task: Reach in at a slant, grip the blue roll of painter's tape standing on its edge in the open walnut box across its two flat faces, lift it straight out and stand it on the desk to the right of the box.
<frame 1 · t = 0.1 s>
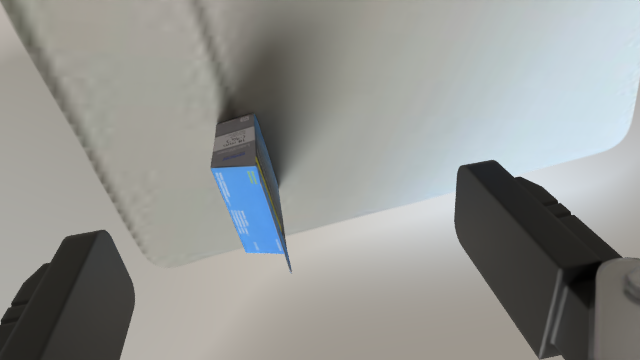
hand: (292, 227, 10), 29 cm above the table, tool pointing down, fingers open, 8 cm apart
blue retail box: (249, 157, 42), on the table
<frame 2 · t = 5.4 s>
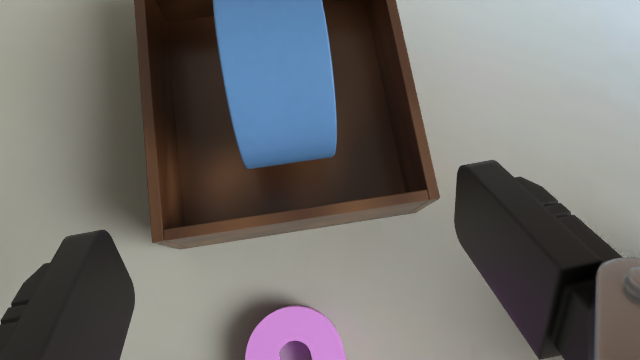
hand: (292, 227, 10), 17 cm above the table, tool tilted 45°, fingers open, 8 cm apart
tape roll: (282, 109, 29), resting on wooden box
wooden box: (282, 111, 29), on the table
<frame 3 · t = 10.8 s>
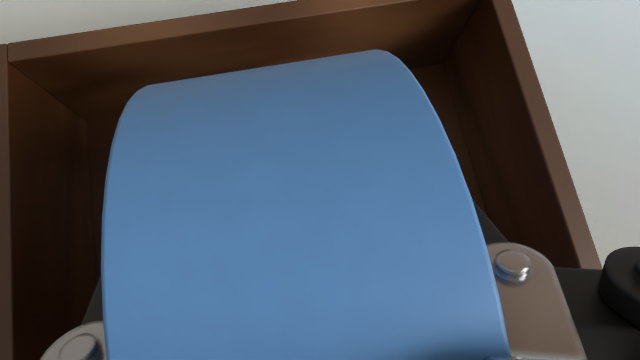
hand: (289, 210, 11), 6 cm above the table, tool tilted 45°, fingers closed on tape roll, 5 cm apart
tape roll: (304, 286, 15), point 1 cm above the table, touching gripper, wooden box
wooden box: (305, 287, 16), on the table
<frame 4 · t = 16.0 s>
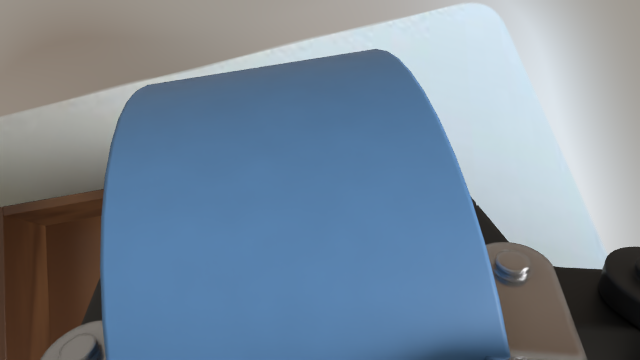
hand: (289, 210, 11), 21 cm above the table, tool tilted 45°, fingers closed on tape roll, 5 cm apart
tape roll: (304, 286, 15), point 16 cm above the table, touching gripper
wooden box: (158, 314, 30), on the table
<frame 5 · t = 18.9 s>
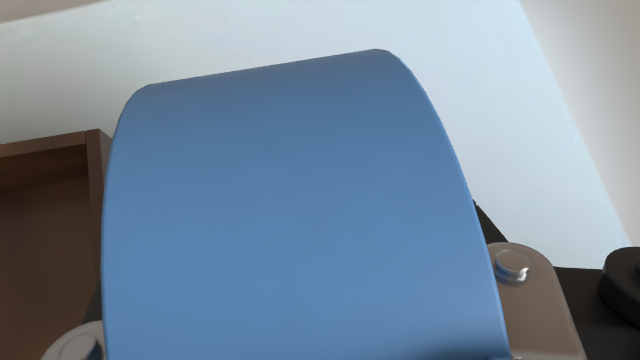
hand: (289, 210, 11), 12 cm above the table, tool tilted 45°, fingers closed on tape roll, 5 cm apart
tape roll: (304, 286, 15), point 7 cm above the table, touching gripper
when the fingers open (5 cm above the table, at t = 21.4 s): tape roll stays where it is, on the table.
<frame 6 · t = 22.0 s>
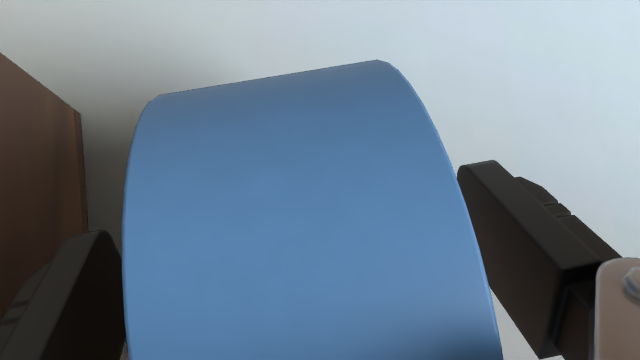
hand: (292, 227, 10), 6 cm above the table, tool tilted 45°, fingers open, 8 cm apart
tape roll: (308, 286, 16), on the table
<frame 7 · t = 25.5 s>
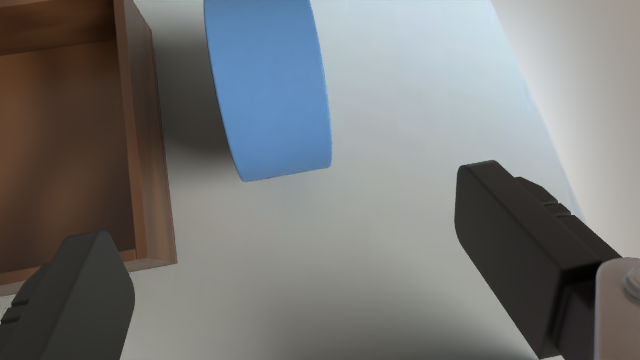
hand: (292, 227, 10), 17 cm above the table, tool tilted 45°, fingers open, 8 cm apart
tape roll: (277, 120, 29), on the table
wooden box: (43, 159, 28), on the table
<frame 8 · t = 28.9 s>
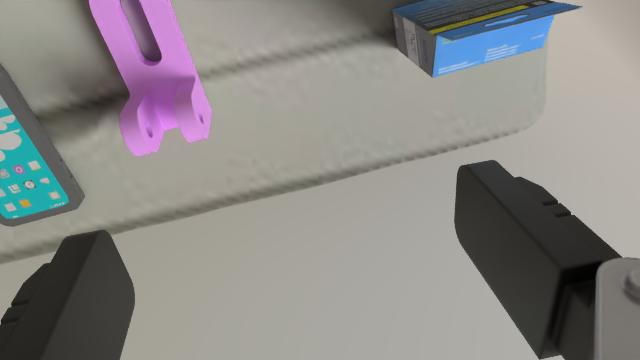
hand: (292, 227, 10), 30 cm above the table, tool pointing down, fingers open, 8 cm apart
smartphone: (1, 144, 38), on the table
blue retail box: (440, 17, 39), on the table
bracket: (153, 49, 36), on the table
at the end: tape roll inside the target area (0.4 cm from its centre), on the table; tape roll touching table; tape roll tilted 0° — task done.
